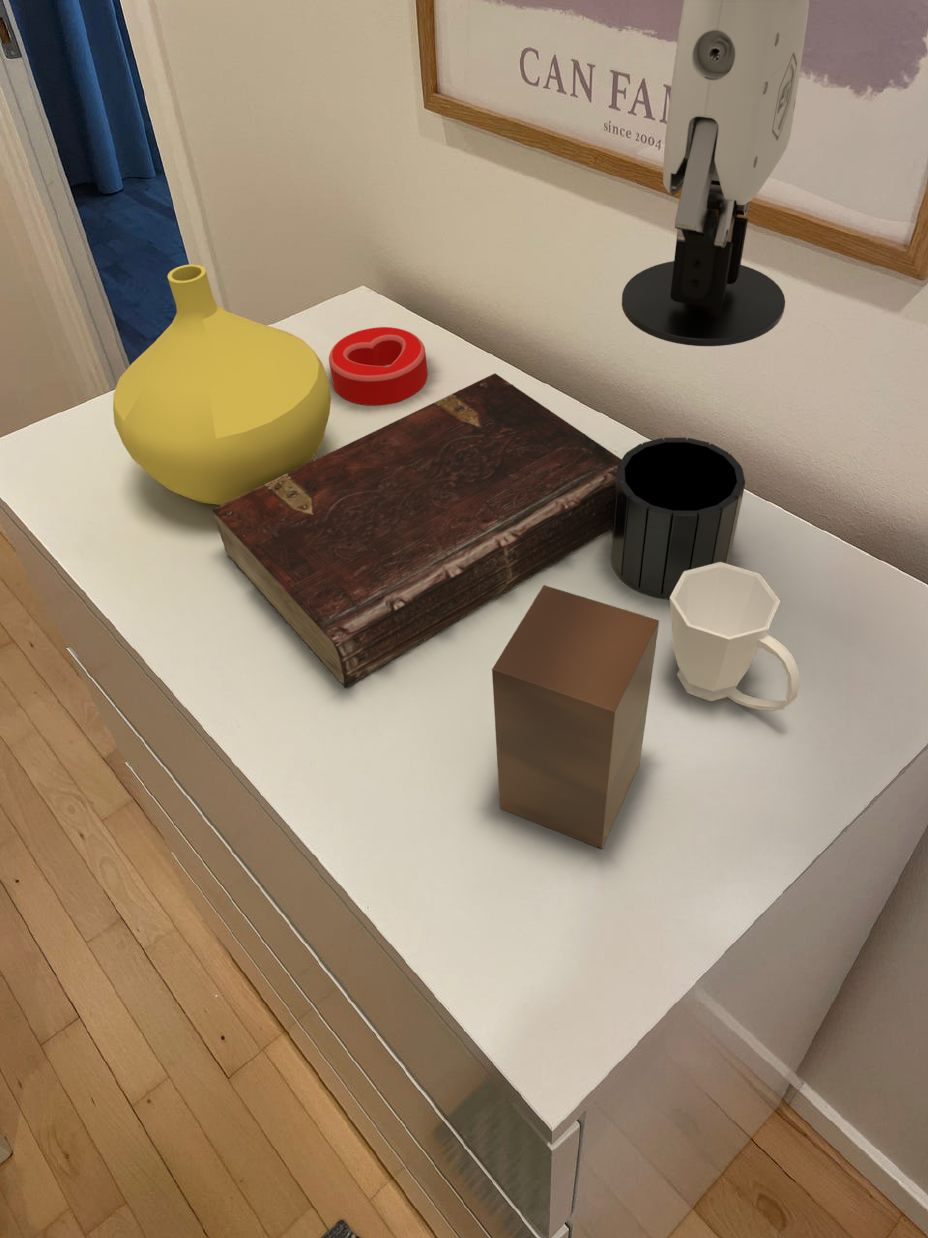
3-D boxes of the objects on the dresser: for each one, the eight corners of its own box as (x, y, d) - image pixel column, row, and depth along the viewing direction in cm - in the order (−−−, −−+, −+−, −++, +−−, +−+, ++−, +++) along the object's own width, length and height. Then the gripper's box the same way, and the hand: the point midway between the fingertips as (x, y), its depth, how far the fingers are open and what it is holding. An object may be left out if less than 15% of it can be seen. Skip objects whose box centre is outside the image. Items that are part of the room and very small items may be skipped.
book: (347, 689, 68) (336, 644, 65) (227, 555, 79) (212, 509, 75) (636, 515, 79) (641, 468, 76) (496, 418, 90) (495, 373, 86)
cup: (703, 625, 70) (718, 546, 65) (815, 705, 65) (843, 626, 59) (637, 674, 68) (647, 595, 62) (748, 761, 62) (770, 684, 56)
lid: (800, 280, 61) (819, 194, 57) (760, 360, 55) (777, 270, 51) (651, 255, 64) (659, 172, 60) (598, 327, 58) (602, 241, 54)
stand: (640, 763, 63) (659, 619, 52) (601, 849, 58) (614, 712, 48) (542, 728, 65) (543, 584, 55) (499, 808, 61) (491, 669, 51)
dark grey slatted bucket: (741, 538, 77) (759, 453, 71) (707, 613, 71) (723, 529, 65) (633, 509, 80) (641, 426, 74) (593, 579, 74) (598, 496, 68)
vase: (285, 555, 79) (229, 351, 65) (102, 514, 84) (14, 317, 70) (374, 428, 90) (344, 232, 76) (209, 399, 95) (152, 210, 81)
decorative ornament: (380, 417, 91) (375, 389, 89) (314, 383, 96) (308, 355, 94) (447, 372, 96) (444, 344, 94) (380, 342, 101) (377, 315, 98)
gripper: (791, -16, 39) (726, 369, 53) (867, -102, 49) (796, 243, 62) (620, -27, 42) (600, 343, 55) (724, -107, 51) (685, 226, 65)
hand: (704, 288), depth 59 cm, fingers closed on lid, 2 cm apart
